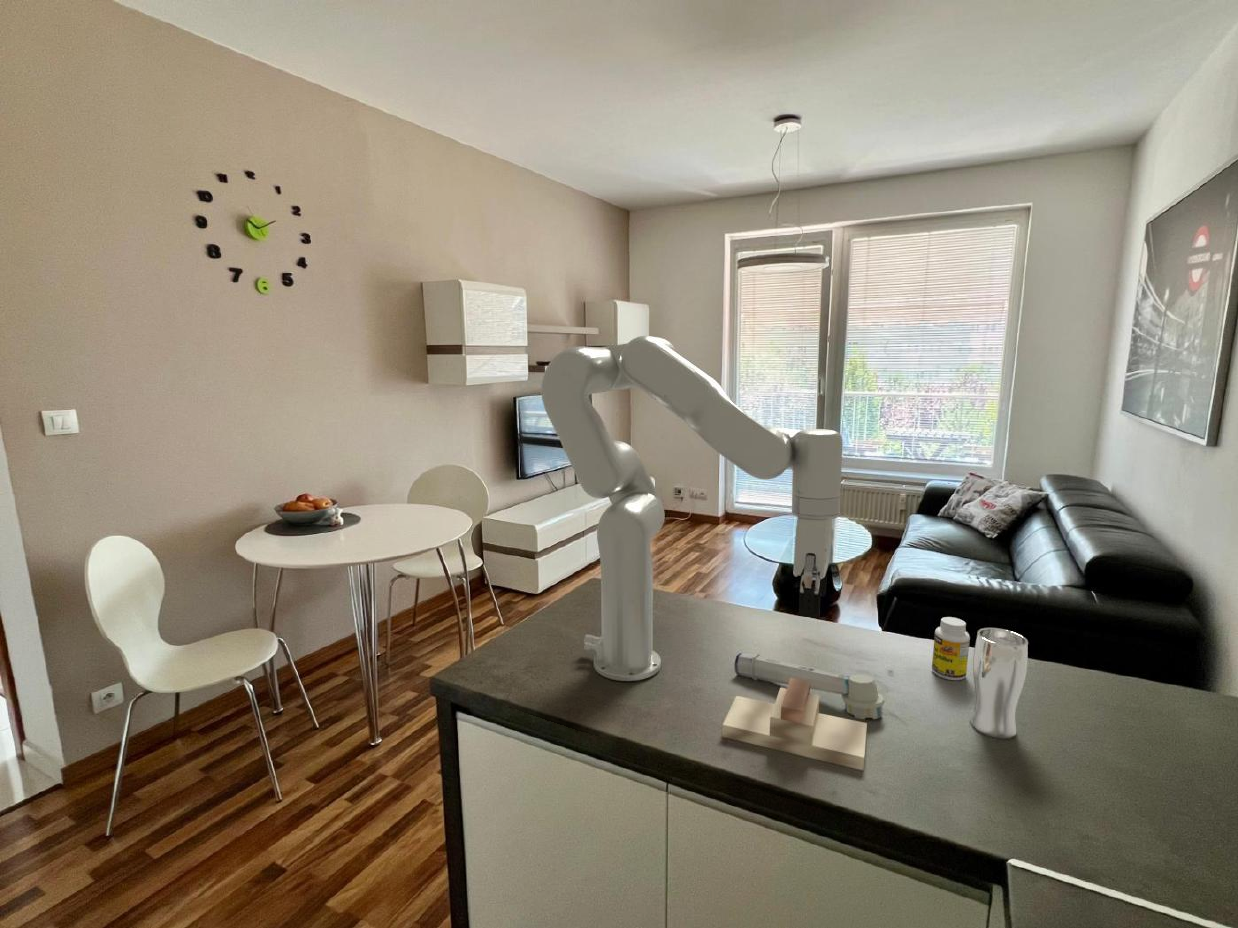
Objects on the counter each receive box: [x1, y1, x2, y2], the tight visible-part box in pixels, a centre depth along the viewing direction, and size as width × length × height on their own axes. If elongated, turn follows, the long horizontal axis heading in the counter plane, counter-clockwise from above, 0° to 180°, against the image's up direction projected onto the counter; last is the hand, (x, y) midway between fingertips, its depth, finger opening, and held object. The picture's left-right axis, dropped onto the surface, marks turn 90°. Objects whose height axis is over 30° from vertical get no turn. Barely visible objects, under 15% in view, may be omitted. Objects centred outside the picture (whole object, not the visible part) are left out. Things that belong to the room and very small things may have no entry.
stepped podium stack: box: [722, 678, 868, 771], centre depth 94 cm, size 20×9×7 cm, turn 66°
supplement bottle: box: [931, 616, 971, 681], centre depth 112 cm, size 6×6×10 cm
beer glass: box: [970, 627, 1029, 740], centre depth 95 cm, size 7×7×15 cm
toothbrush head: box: [733, 652, 886, 721], centre depth 106 cm, size 5×7×25 cm
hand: (812, 605), depth 104 cm, fingers open, 9 cm apart
